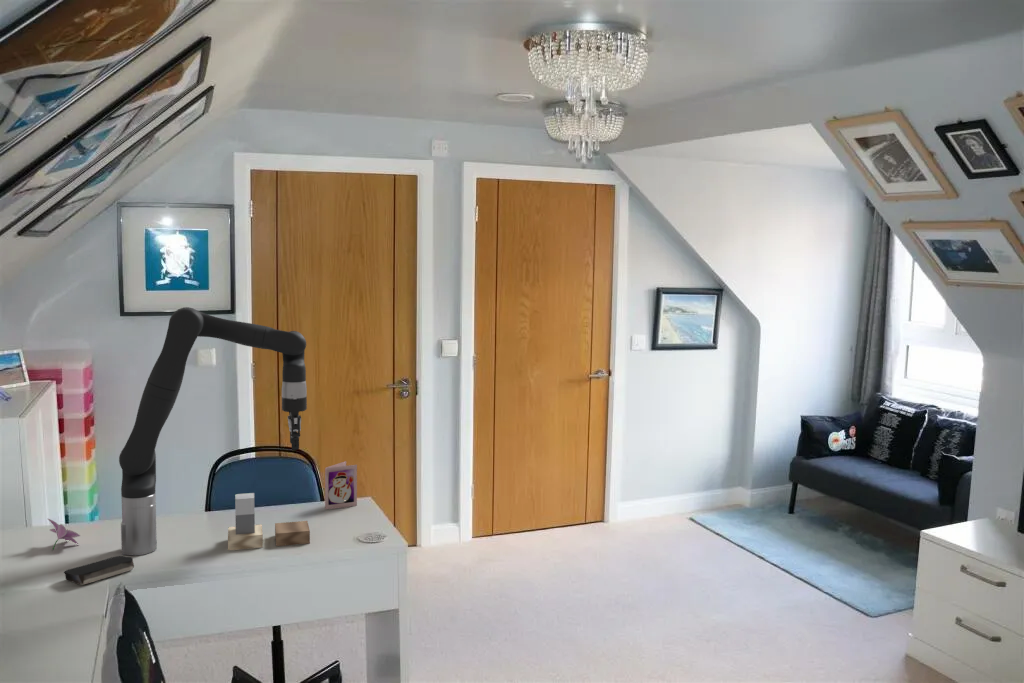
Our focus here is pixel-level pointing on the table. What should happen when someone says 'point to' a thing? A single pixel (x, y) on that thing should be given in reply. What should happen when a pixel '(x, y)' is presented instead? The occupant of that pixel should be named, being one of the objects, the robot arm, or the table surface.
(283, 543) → the walnut stand
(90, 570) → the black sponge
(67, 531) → the lily
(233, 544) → the birch stand
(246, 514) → the block
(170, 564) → the table surface
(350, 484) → the greeting card
